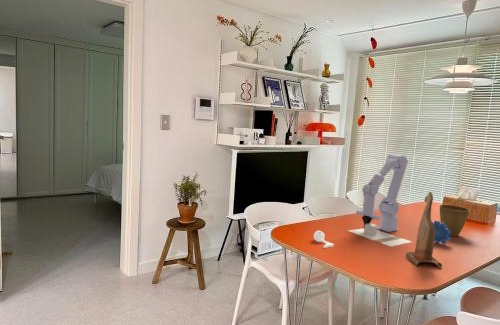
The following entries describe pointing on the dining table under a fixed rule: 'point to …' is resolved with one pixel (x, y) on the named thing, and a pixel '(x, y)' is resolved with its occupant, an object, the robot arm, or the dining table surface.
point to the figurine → (322, 239)
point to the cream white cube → (370, 229)
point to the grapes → (441, 232)
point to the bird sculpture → (424, 237)
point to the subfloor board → (381, 237)
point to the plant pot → (453, 218)
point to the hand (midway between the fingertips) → (366, 229)
